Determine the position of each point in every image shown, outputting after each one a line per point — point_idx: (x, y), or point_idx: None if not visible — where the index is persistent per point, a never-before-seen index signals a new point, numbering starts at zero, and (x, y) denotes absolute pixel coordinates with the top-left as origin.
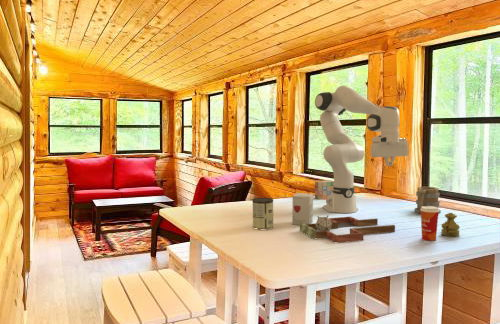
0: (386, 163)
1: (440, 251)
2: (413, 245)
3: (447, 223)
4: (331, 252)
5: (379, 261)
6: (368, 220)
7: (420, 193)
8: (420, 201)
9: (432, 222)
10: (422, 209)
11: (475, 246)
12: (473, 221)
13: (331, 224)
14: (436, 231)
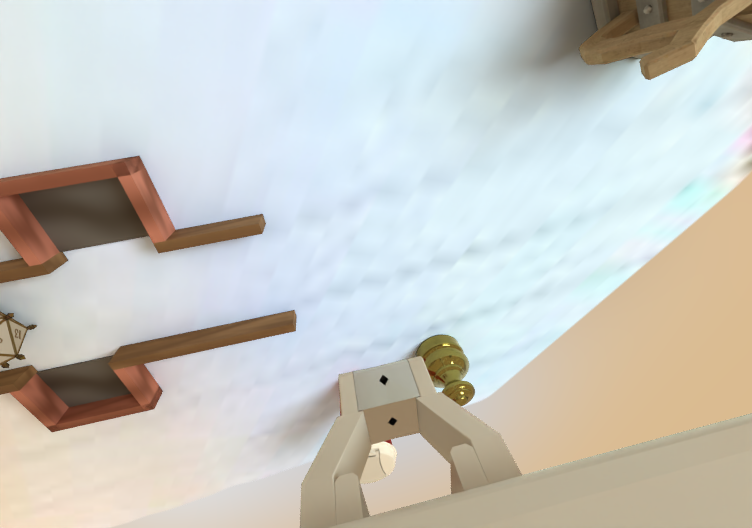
0: (342, 406)
1: None
2: (290, 422)
3: (435, 383)
4: (58, 469)
5: (175, 498)
6: (215, 241)
7: (671, 33)
8: (614, 55)
9: None
10: None
11: None
12: (635, 215)
13: (13, 358)
14: None
